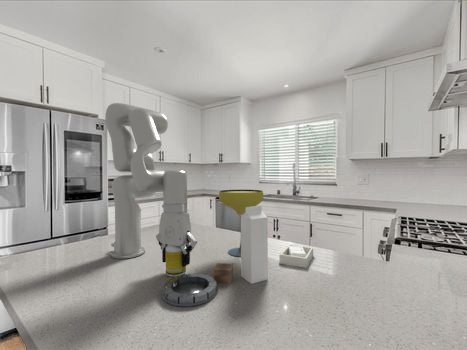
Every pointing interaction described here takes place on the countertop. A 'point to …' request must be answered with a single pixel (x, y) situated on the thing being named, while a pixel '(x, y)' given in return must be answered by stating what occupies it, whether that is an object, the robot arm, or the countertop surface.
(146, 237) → the countertop surface
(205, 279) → the collar
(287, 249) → the soap dish
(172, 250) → the pill bottle
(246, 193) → the cocktail glass
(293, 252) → the soap
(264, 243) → the milk
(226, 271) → the walnut block
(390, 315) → the countertop surface
